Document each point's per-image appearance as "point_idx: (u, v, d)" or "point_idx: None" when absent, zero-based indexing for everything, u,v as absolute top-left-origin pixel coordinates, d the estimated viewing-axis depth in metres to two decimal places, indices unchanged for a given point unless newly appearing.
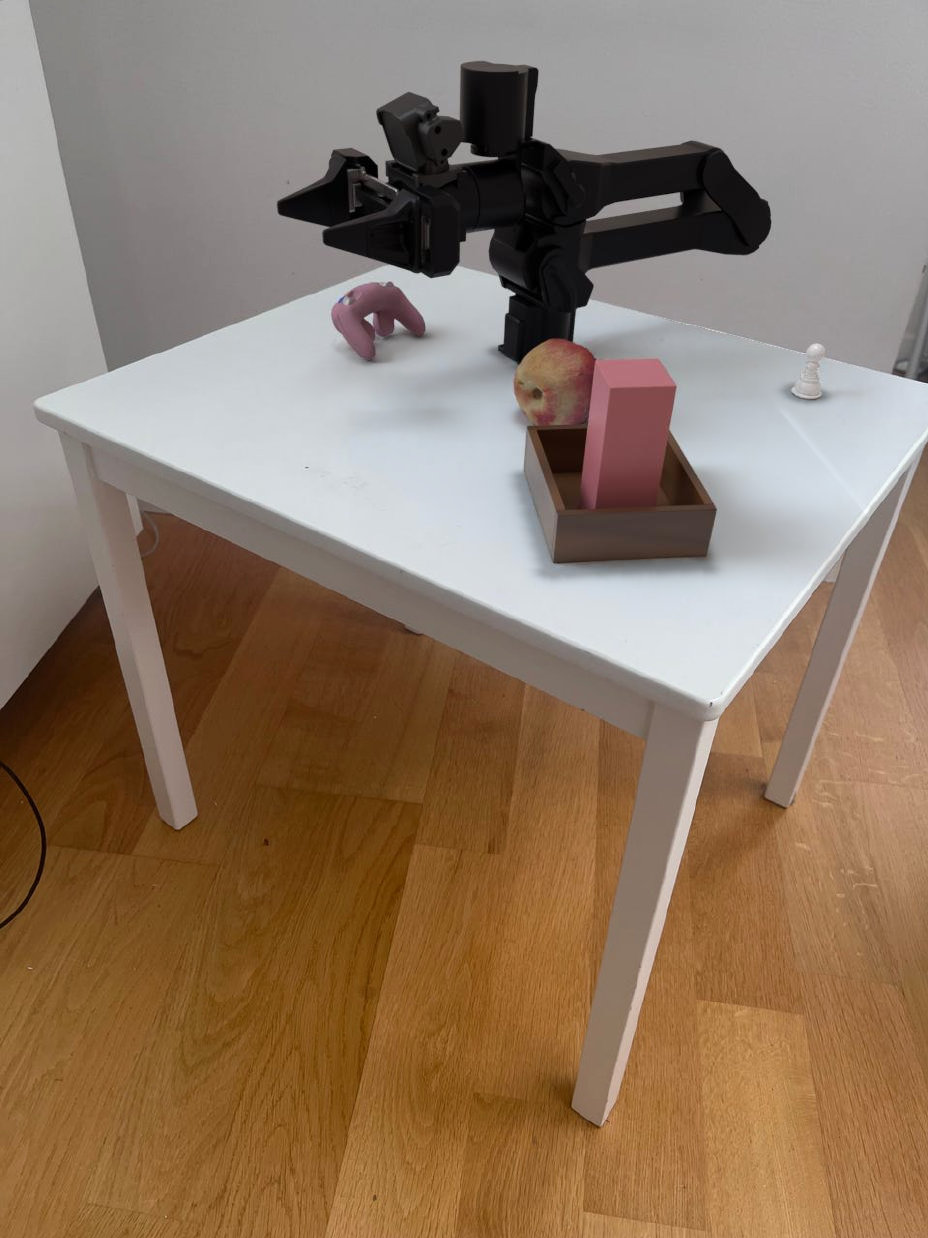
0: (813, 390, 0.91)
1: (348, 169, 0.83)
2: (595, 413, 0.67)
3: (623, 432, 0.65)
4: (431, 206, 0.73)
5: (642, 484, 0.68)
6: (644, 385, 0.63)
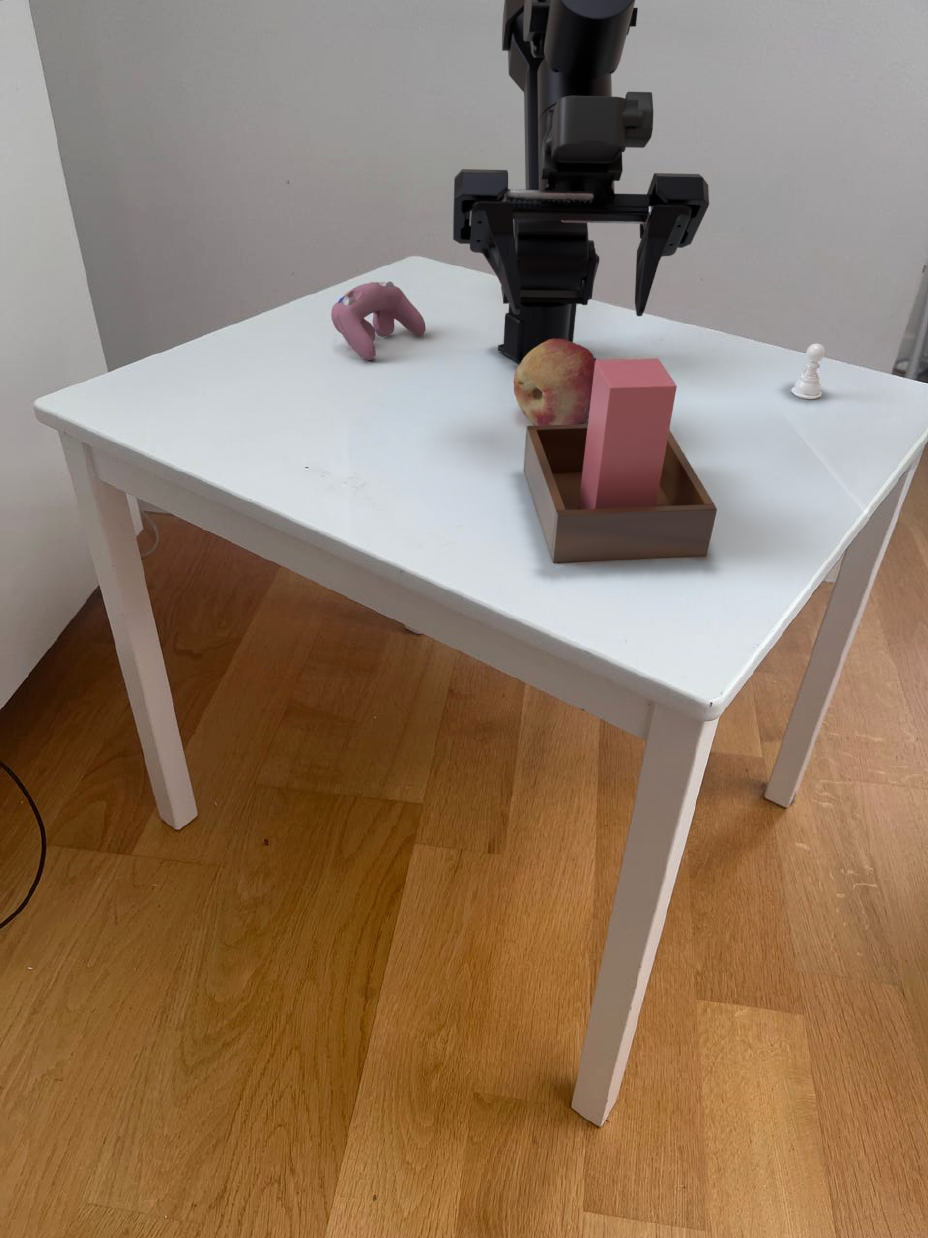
0: (813, 390, 0.91)
1: None
2: (595, 413, 0.67)
3: (623, 432, 0.65)
4: (703, 204, 0.69)
5: (642, 484, 0.68)
6: (644, 385, 0.63)
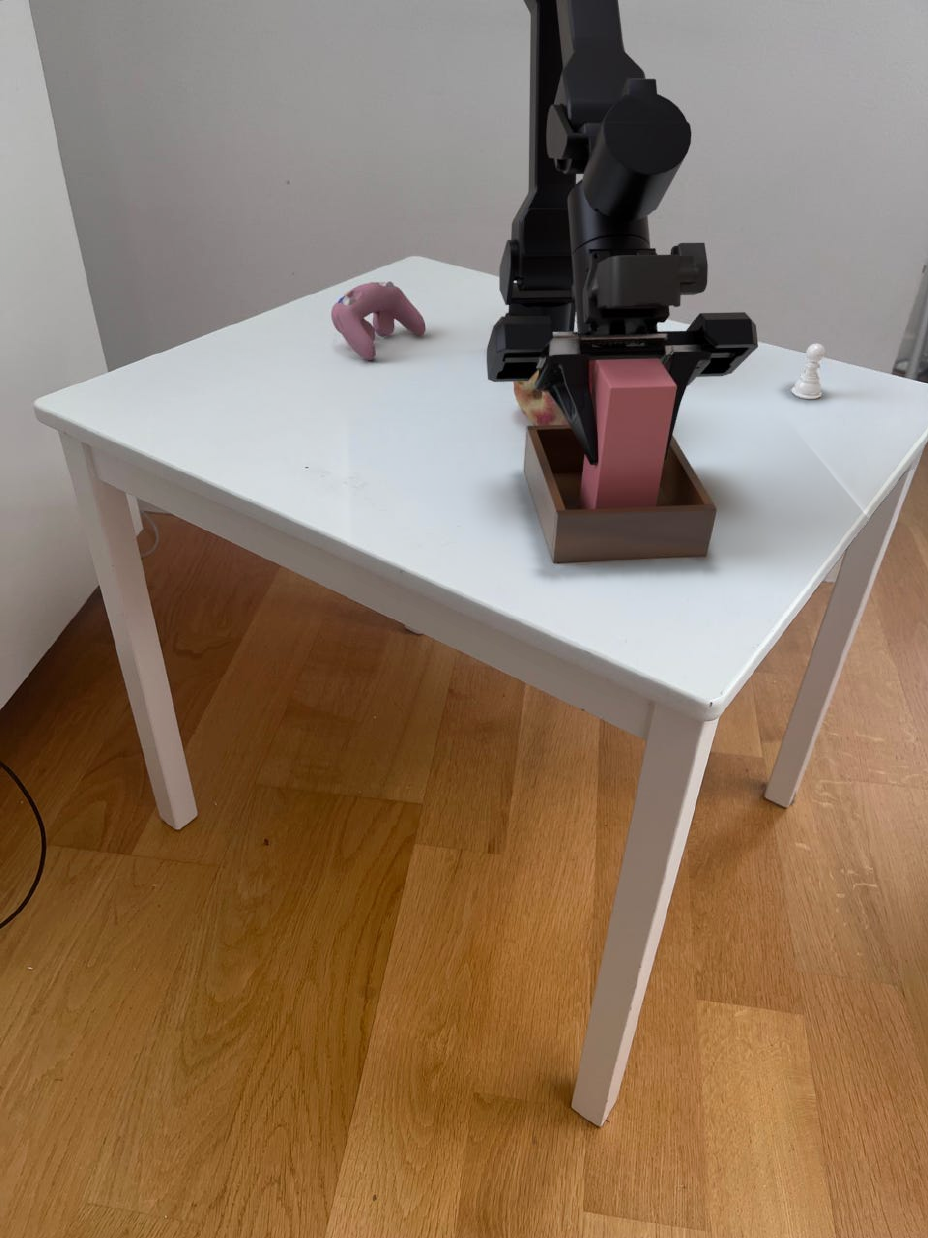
0: (813, 390, 0.91)
1: (577, 353, 0.66)
2: (595, 413, 0.67)
3: (623, 432, 0.65)
4: (751, 347, 0.67)
5: (642, 484, 0.68)
6: (644, 385, 0.63)
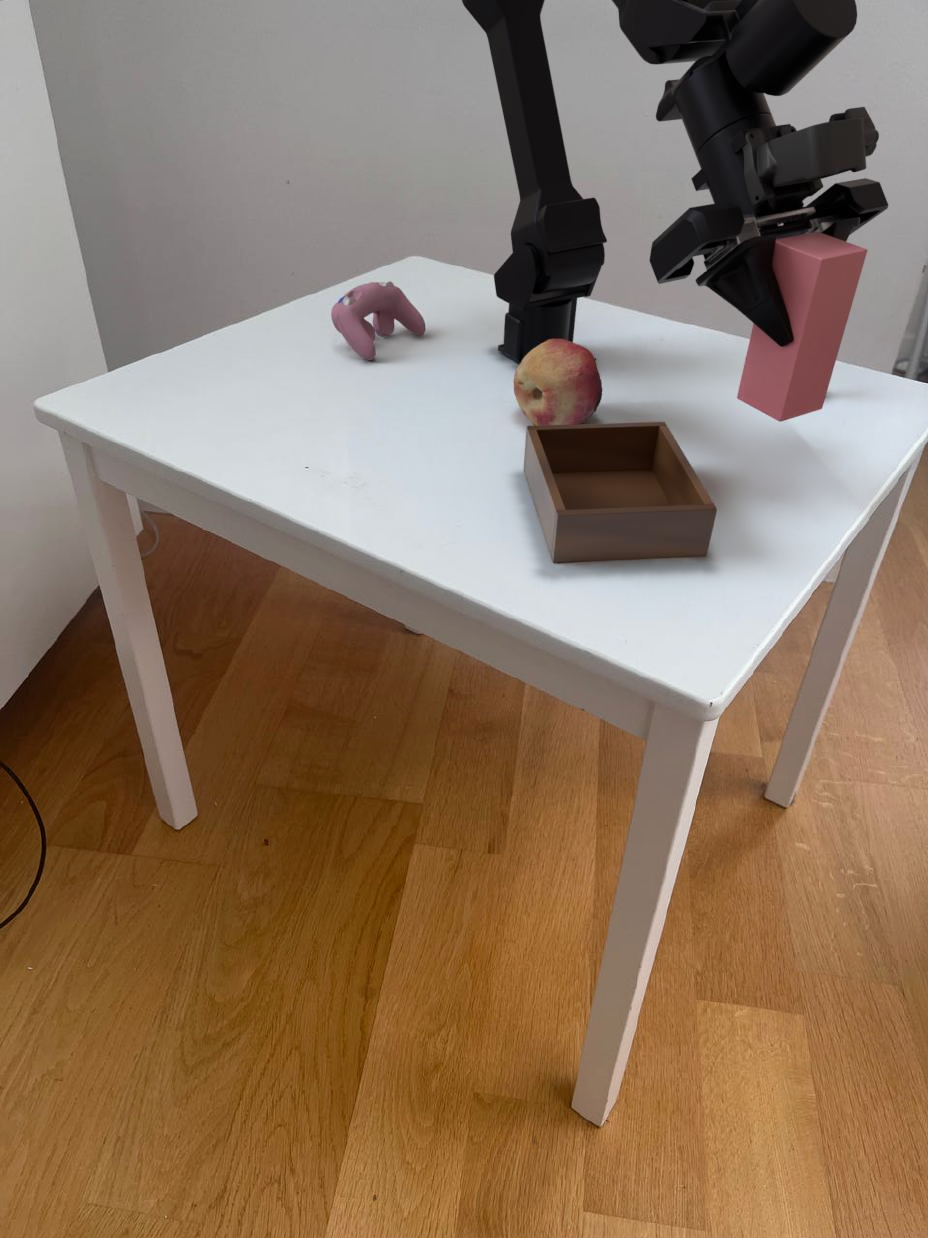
0: None
1: (759, 235, 0.65)
2: None
3: (822, 305, 0.66)
4: (883, 209, 0.70)
5: (826, 356, 0.69)
6: (844, 253, 0.64)
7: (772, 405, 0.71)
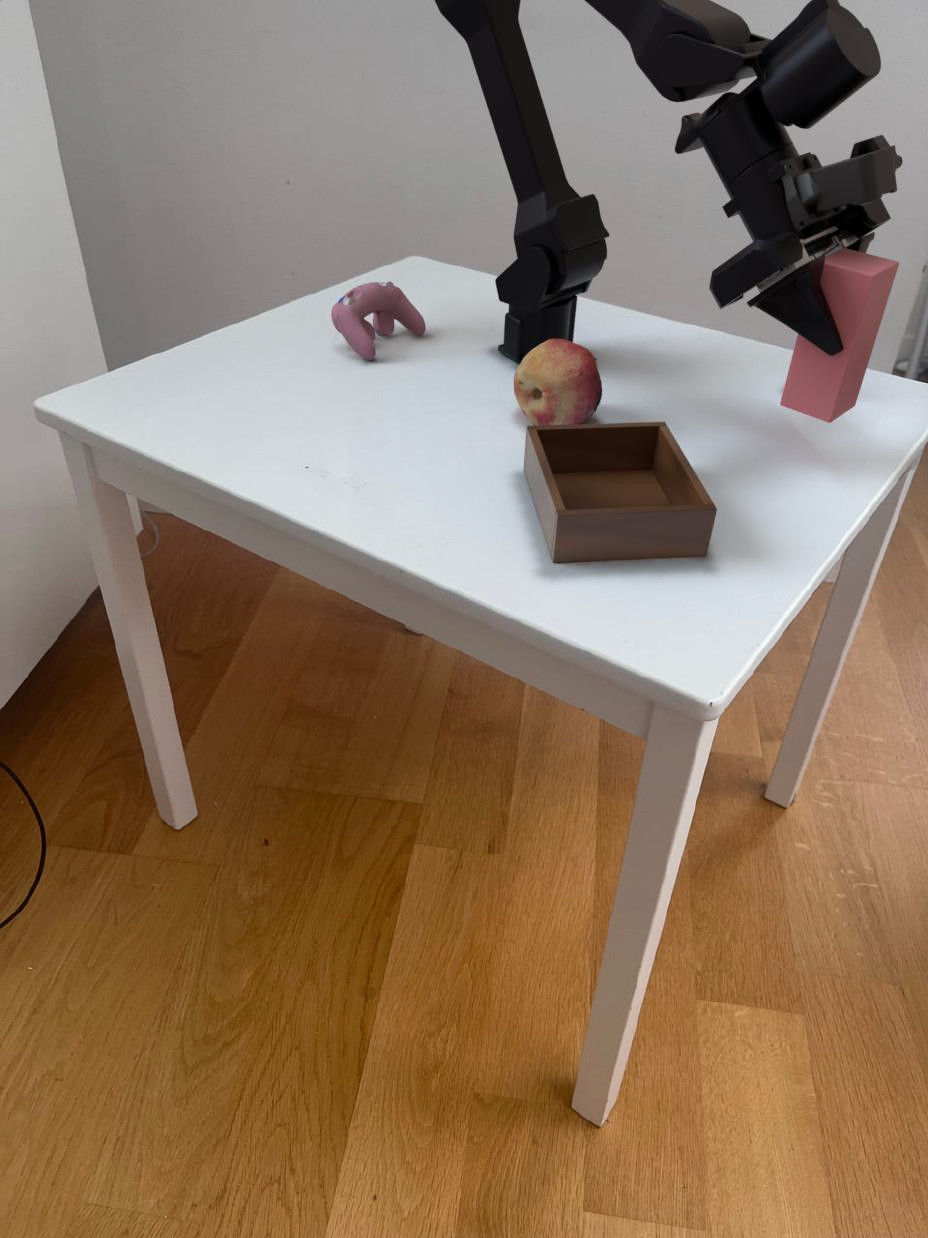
0: None
1: (808, 257, 0.71)
2: None
3: (868, 315, 0.72)
4: None
5: (863, 359, 0.76)
6: (885, 267, 0.71)
7: (821, 408, 0.77)
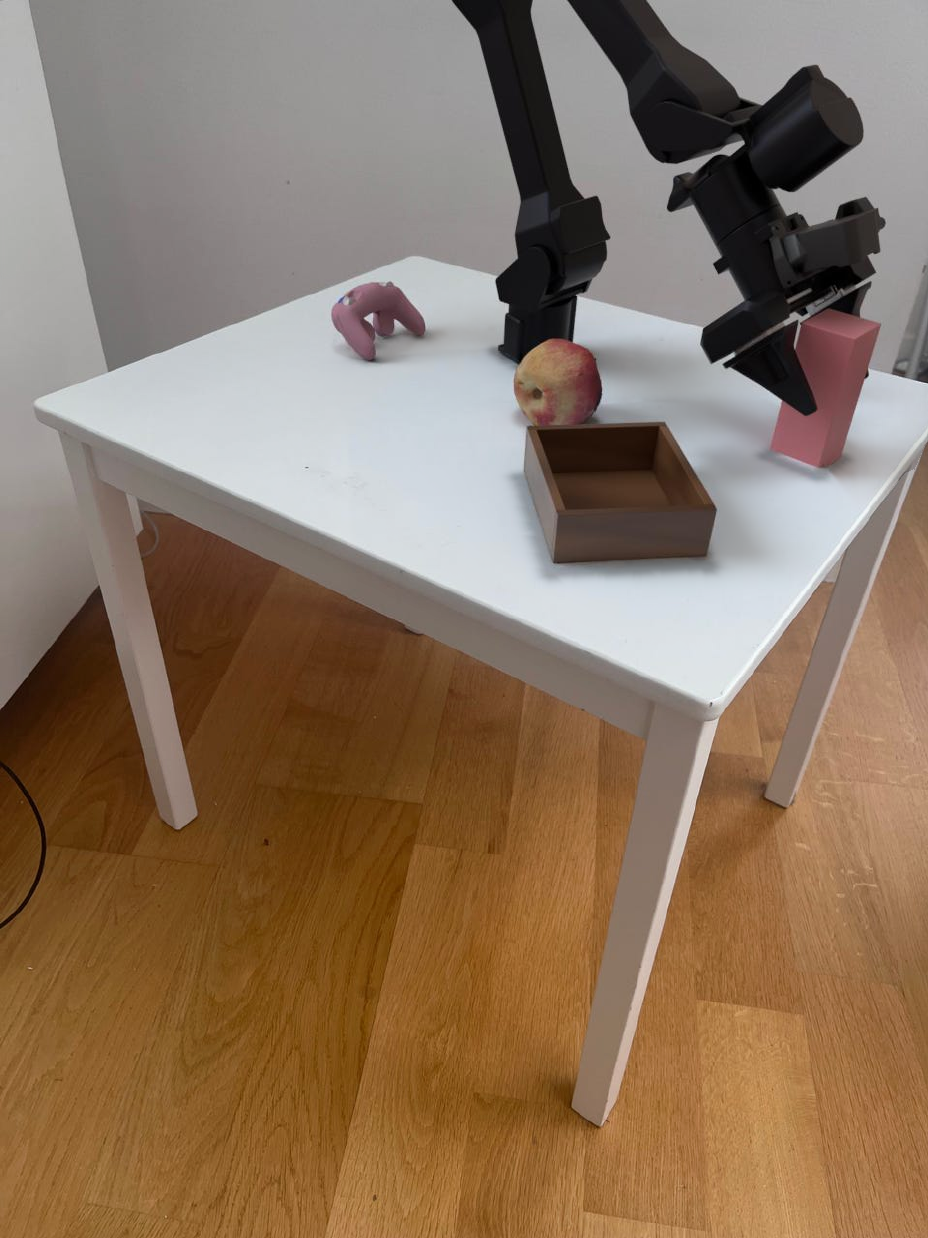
0: None
1: (782, 322, 0.72)
2: (811, 367, 0.76)
3: (851, 374, 0.75)
4: (870, 275, 0.80)
5: (848, 414, 0.79)
6: (867, 329, 0.74)
7: (807, 461, 0.80)
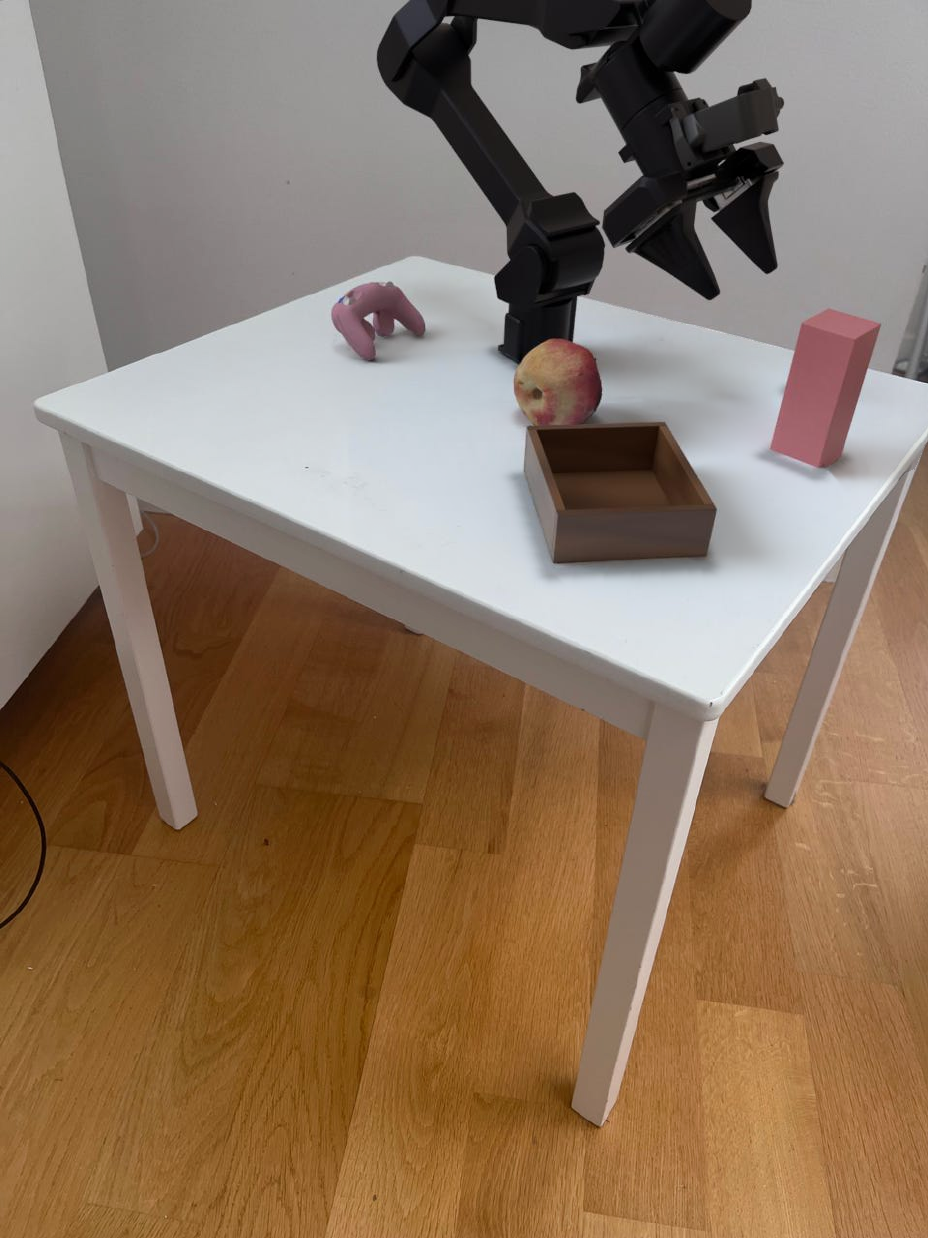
0: None
1: (681, 202, 0.72)
2: (811, 367, 0.76)
3: (851, 374, 0.75)
4: (779, 167, 0.80)
5: (848, 414, 0.79)
6: (867, 329, 0.74)
7: (807, 461, 0.80)
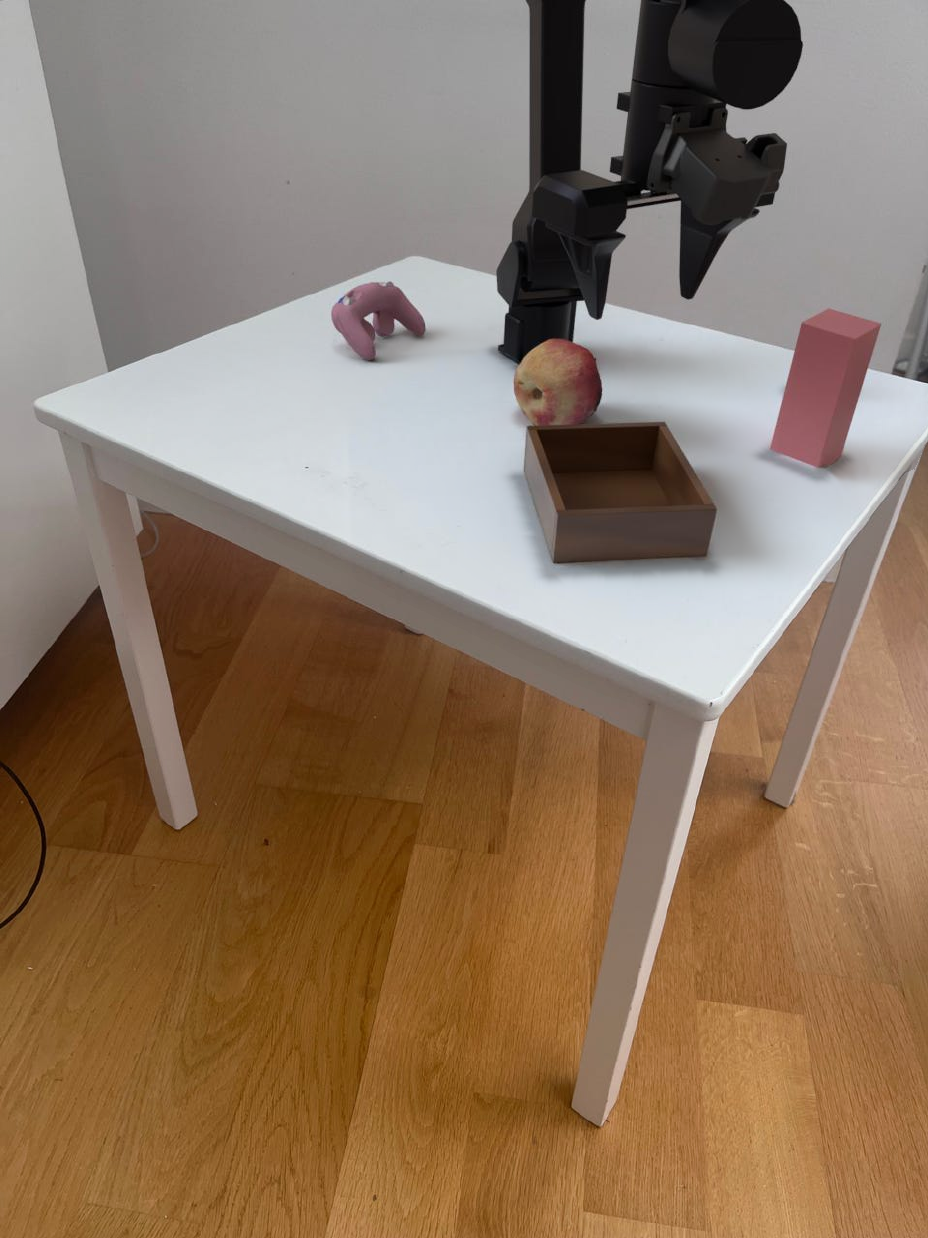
0: None
1: None
2: (811, 367, 0.76)
3: (851, 374, 0.75)
4: None
5: (848, 414, 0.79)
6: (867, 329, 0.74)
7: (807, 461, 0.80)
